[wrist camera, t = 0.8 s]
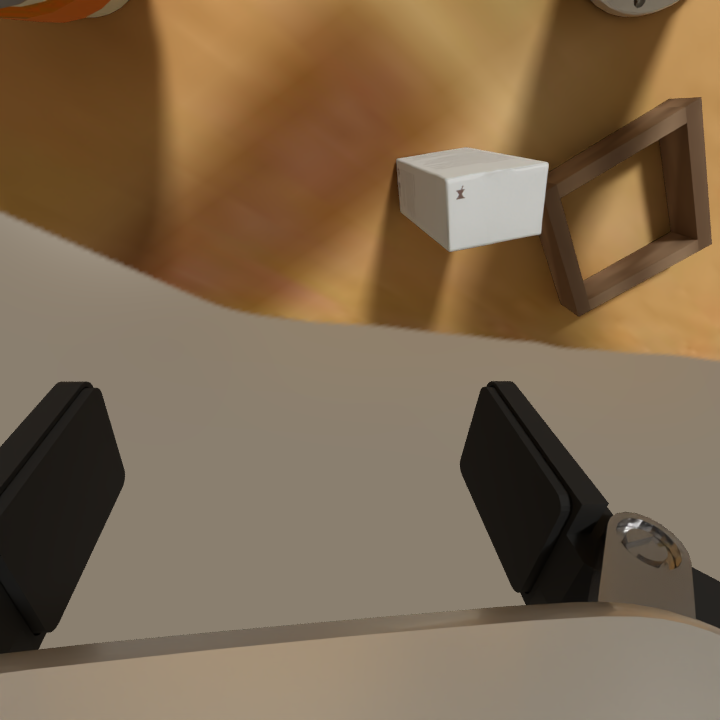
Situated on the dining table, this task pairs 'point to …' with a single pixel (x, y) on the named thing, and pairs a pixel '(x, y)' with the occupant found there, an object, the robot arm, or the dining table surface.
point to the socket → (683, 191)
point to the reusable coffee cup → (57, 9)
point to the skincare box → (472, 196)
